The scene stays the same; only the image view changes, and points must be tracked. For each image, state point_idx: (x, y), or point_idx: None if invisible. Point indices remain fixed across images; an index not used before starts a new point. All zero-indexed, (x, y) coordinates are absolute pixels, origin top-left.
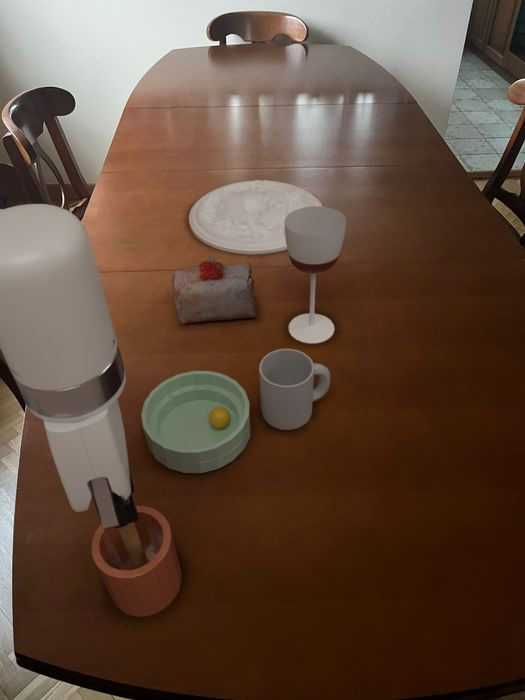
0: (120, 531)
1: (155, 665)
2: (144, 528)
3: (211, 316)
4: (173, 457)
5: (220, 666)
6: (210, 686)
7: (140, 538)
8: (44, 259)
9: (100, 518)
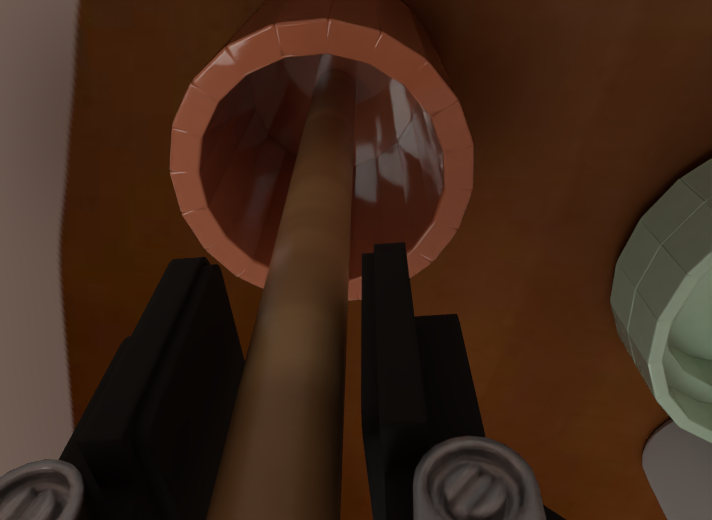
0: (289, 209)
1: (110, 99)
2: (424, 164)
3: None
4: (690, 231)
5: (111, 237)
6: (69, 214)
7: (425, 118)
8: None
9: (140, 323)
